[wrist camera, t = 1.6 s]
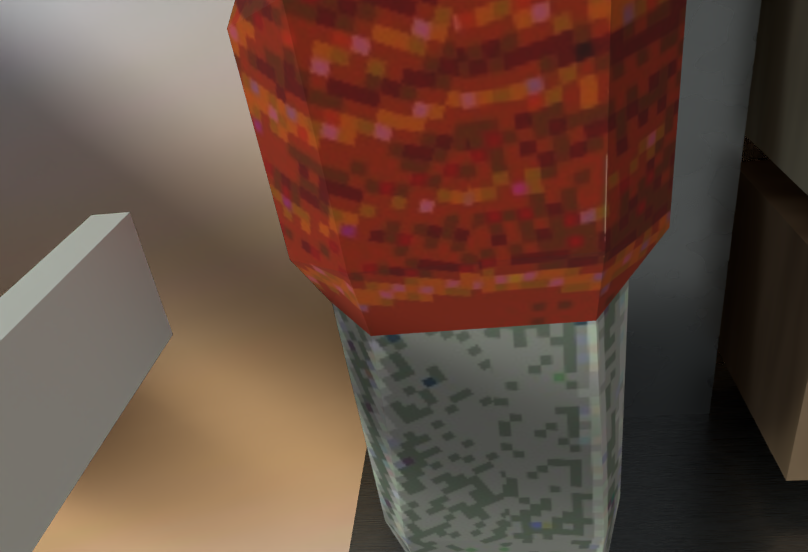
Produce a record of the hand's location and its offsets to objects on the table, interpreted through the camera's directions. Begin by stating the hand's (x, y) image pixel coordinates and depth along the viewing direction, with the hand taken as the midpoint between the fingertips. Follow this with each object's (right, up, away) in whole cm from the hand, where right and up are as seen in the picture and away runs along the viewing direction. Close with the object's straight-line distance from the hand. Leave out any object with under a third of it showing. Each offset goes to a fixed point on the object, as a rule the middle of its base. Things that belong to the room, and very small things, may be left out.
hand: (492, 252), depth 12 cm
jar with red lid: (+1, +9, +15) cm, 17 cm away
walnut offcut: (+15, +1, +18) cm, 24 cm away
